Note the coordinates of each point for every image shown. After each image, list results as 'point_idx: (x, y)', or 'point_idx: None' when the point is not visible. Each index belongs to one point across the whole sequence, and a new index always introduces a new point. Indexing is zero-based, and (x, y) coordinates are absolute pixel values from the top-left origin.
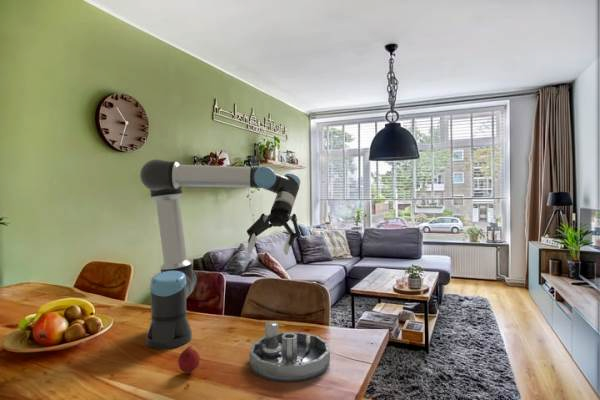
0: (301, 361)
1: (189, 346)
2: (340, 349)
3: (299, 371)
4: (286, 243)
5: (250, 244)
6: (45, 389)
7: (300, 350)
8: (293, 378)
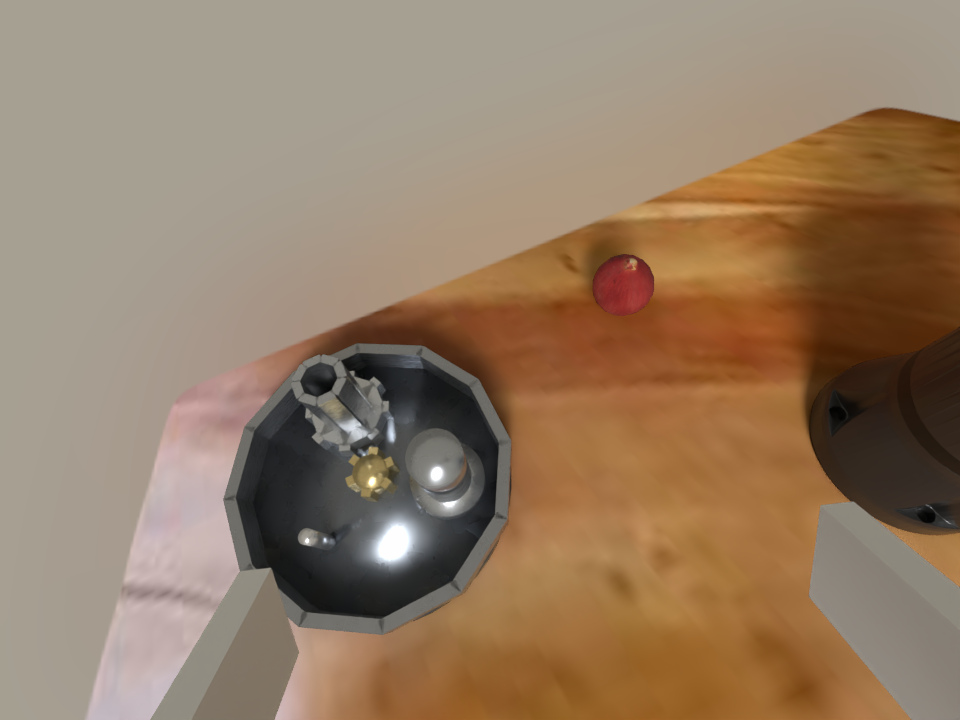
0: (309, 417)
1: (628, 260)
2: None
3: None
4: (191, 677)
5: (881, 562)
6: (838, 140)
7: (359, 541)
8: None
